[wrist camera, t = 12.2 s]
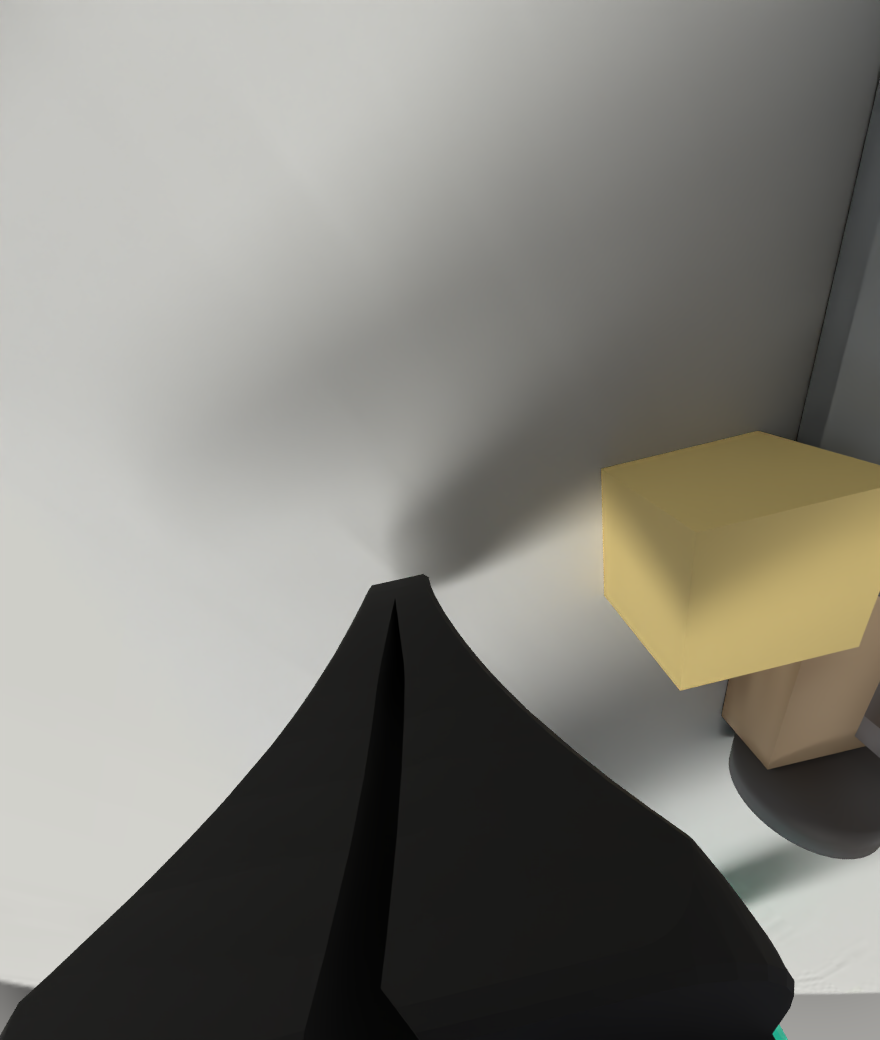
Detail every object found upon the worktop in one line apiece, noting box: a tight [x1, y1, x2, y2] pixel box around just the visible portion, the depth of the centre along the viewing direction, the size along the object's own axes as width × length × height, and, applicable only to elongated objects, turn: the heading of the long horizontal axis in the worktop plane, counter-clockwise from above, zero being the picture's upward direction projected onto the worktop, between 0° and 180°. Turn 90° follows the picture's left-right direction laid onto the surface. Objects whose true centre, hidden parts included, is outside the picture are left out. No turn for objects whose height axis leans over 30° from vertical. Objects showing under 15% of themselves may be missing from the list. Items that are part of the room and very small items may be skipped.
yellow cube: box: [601, 431, 880, 691], centre depth 9 cm, size 4×4×4 cm
